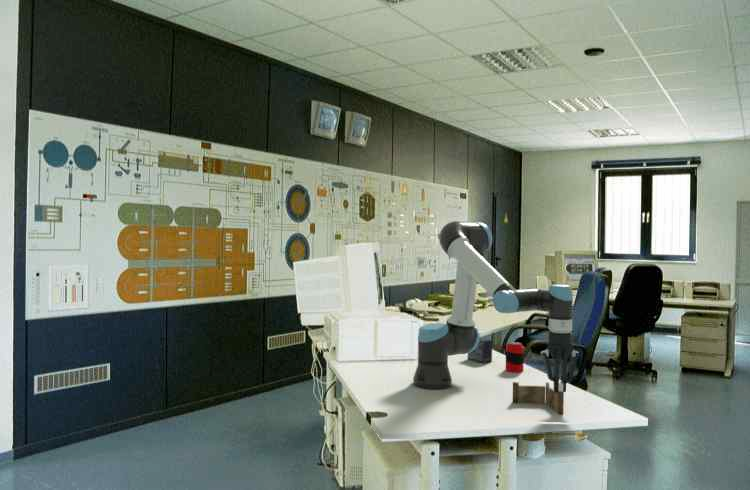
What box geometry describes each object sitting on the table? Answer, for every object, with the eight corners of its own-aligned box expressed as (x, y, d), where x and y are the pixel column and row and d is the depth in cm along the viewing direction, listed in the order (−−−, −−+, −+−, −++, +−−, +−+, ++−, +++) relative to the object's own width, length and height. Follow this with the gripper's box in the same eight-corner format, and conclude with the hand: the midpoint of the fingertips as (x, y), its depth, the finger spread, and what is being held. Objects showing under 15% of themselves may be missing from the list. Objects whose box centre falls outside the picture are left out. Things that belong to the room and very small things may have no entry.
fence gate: (544, 402, 193) (544, 382, 193) (549, 402, 193) (549, 382, 193) (558, 414, 180) (559, 392, 180) (564, 414, 180) (564, 392, 180)
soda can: (507, 367, 247) (507, 341, 247) (524, 369, 245) (524, 342, 244) (504, 371, 240) (504, 344, 240) (522, 373, 238) (522, 345, 237)
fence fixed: (513, 403, 192) (513, 383, 192) (511, 401, 194) (512, 381, 194) (545, 404, 192) (545, 384, 191) (543, 402, 194) (544, 382, 193)
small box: (492, 361, 259) (493, 339, 259) (482, 363, 256) (483, 340, 255) (476, 357, 268) (477, 336, 268) (466, 359, 264) (467, 337, 264)
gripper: (544, 333, 181) (543, 404, 181) (583, 333, 180) (583, 405, 181) (537, 329, 188) (537, 398, 189) (576, 329, 188) (575, 398, 188)
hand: (559, 401), depth 185 cm, fingers closed
